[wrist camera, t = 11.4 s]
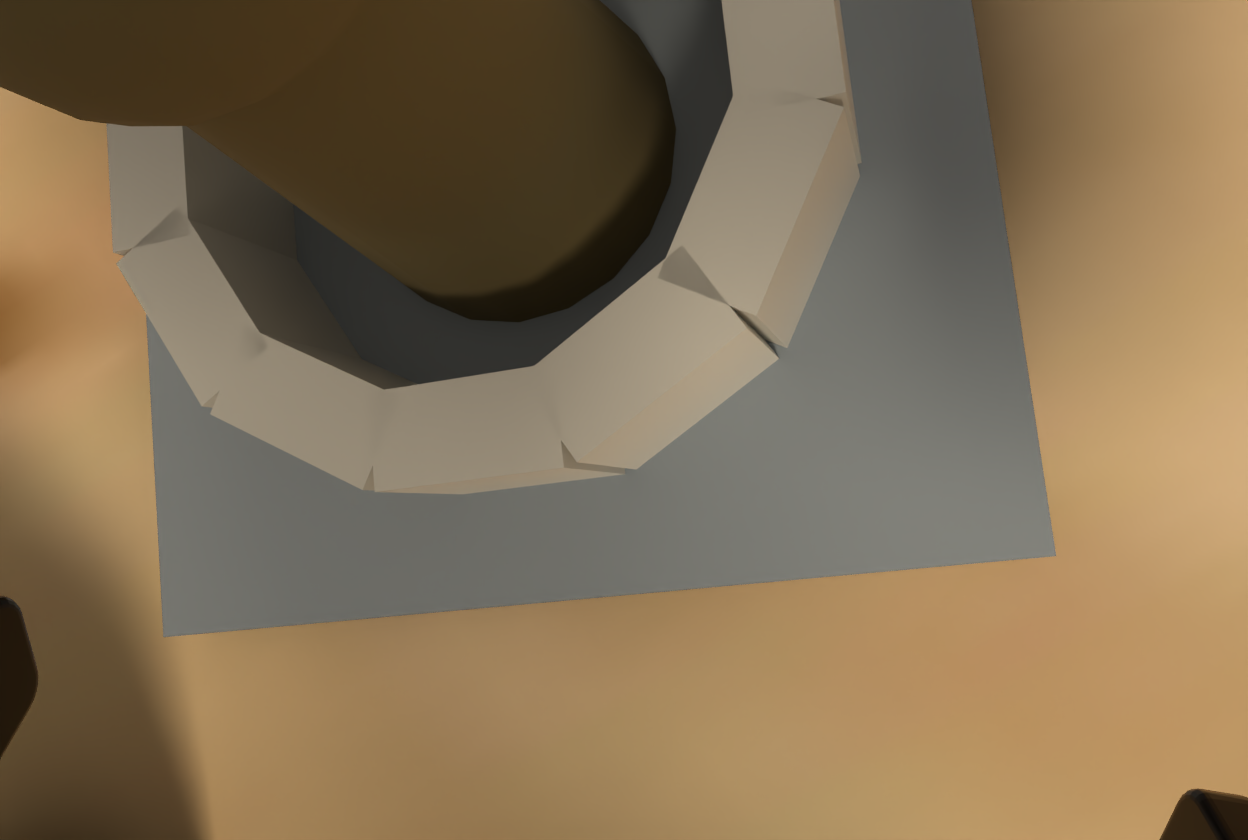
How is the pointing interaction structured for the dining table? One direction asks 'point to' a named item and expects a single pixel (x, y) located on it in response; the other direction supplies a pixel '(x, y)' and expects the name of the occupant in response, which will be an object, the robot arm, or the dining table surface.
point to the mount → (610, 355)
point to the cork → (393, 124)
